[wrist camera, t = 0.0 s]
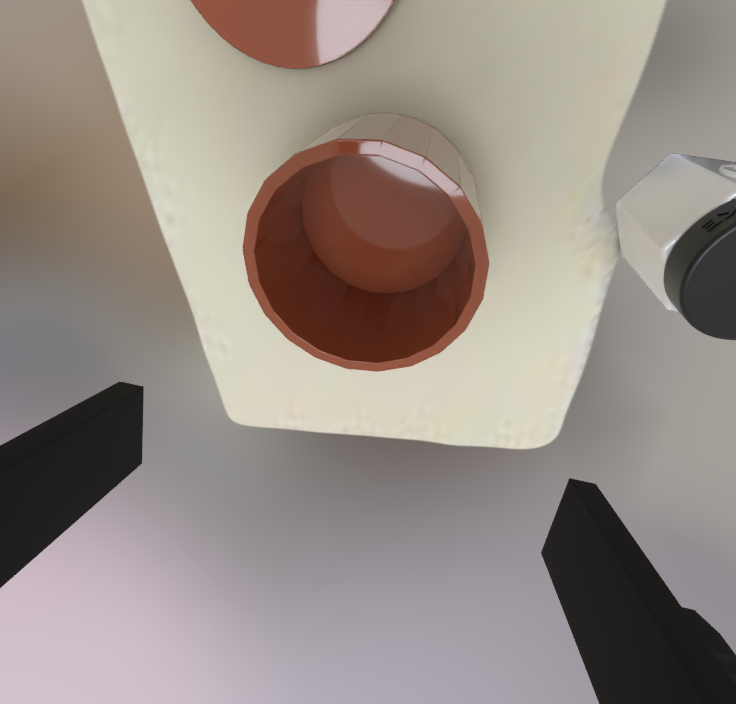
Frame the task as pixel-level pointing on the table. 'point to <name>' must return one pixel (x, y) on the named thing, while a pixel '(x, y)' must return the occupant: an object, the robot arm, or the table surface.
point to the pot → (369, 244)
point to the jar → (685, 239)
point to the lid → (294, 27)
